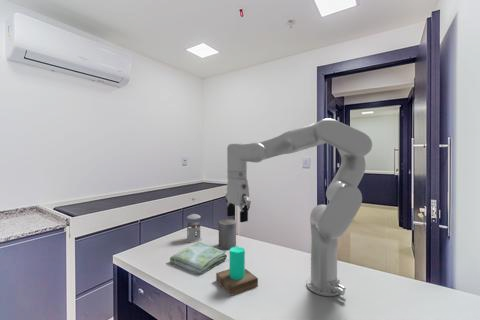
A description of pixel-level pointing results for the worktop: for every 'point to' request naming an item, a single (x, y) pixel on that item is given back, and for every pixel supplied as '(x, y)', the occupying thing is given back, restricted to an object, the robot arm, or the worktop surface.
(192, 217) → the french press
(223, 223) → the pillar candle
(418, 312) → the worktop surface
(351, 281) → the worktop surface
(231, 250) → the candle
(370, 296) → the worktop surface
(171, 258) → the towel
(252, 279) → the walnut base
